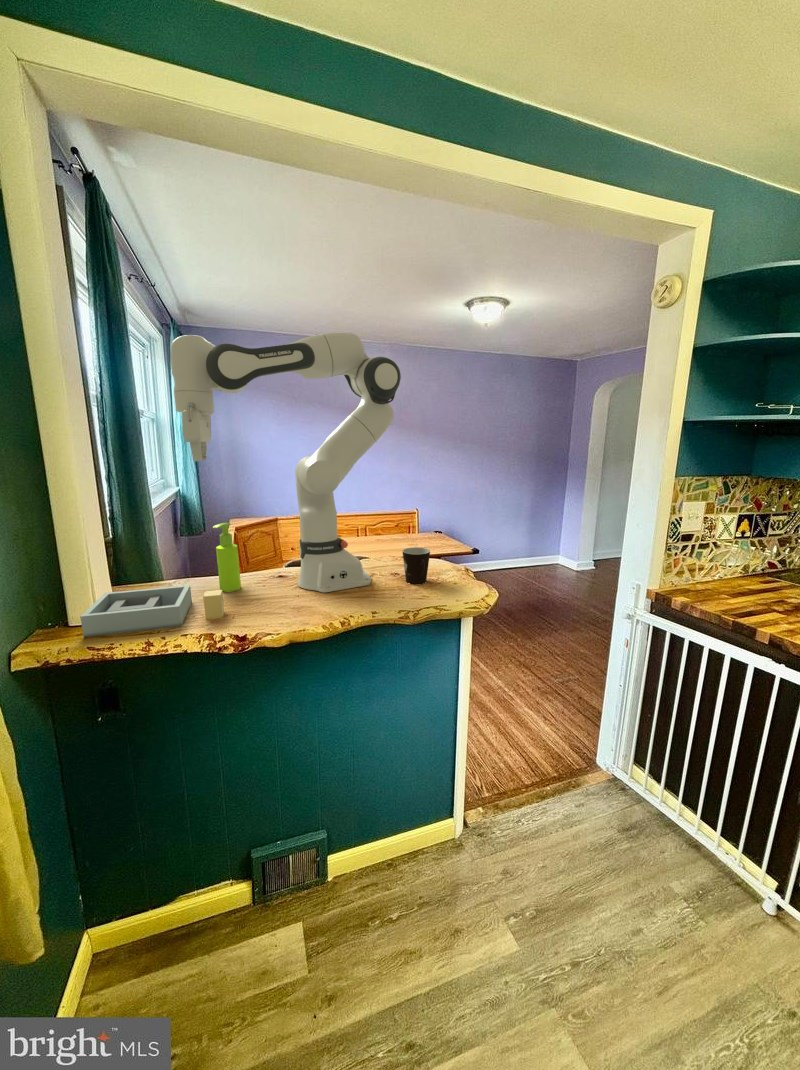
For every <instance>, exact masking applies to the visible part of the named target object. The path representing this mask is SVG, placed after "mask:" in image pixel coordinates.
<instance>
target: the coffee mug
mask: <svg viewBox="0 0 800 1070" xmlns="http://www.w3.org/2000/svg"><path fill="white" fill-rule="evenodd" d="M430 554H431V550H430V549H428V548H426V547H417V546H416V547H407V548H403V549H402V559H403V567H404V577H405V582H407V584H408V583H410V584H409V585H412V584H421V585H424V584H426V583H427V578H428V571H429V562H430ZM425 582H426V583H425ZM423 583H424V584H423Z"/></svg>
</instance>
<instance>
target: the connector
mask: <svg viewBox="0 0 800 1070" xmlns="http://www.w3.org/2000/svg"><path fill="white" fill-rule="evenodd" d="M203 608H204V616H205V620H209V619H210V620H212V618H213V619H219V618H223V617H224V614H225V604H224V594H223V591H222V590H220V589H215V590H214V589H213V590H205V591H204V594H203Z"/></svg>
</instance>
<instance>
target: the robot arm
mask: <svg viewBox="0 0 800 1070" xmlns="http://www.w3.org/2000/svg"><path fill="white" fill-rule="evenodd" d="M363 343H364V342H362V340H361V338H360V337H359V335H356V334H355V333H353V332H351V333H350V332H330V333H322V334H315V335H311V336H306V337H304V338H301V339H299V340H296V341H293V342H291V343H290V342H289V343H287V344H280V345H274V346H273V345H271V346H264V347H257V348H256V347H255V348H254V347H253V348H249V347H244V346H241V345H236V344H232V343H220V344H217V345H215V344H212V342H209V341H208V340H206V338H204V337H203V336H202V335H197V334H186V335H181V336H177V337H175V339H174V340H173V341H172V342H171V345H170V368H171V369H170V370H171V374H172V377H173V381H174V387H173V395H174V403H175V404H174V405H175V411H176V412H177V413H181V419H182V420H181V421H182V423H181V424H182V433H183V439H184V442H186V443H190V444H189V445H190V450H191V454H192V459H193V461H194V462H201V461H204V460H205V461H206V460H207V459H208V454H207V452H208V451H207V450H208V444H207V443H210V442H211V440H212V417H211V415H213V414H214V413H215V404H214V394H213V393H214V390H215V391H219V392H223V393H226V394H237V393H239V392H241V391H243V390H244V389H245V388H246V386H247V385H248V384H249V383H250V382H252V381H253V380H254V379H257V378H260V377H266V376H271V375H278V374H282V373H293V374H294V373H295V374H298V375H300V376H302V378H305V379H309V380H310V379H315V380H316V379H319V380H320V379H328V378H331V377H338V376H344V378H345V380H346V382H347V384H348V386H349V388H350V390H351V392H352V393H353V394H354V395H356V396H357V397H359V398H361V399H360V402H359V404H358V406H357V407H356V408H355V409H354V410H353V411H352V412H351V413H350V414H349V415H348V416H347V417H346V418H345V419H344V420H343V421H342V422H341V423H340V424H339V425H338V426H337V427H336V428H335V429H334V430H332V432H331V433H330V434H329V435H328V436H327V438H326V439H325V440H324V441H323V442H322V444H321V445H320V446H319V448H317V450H316V451H315V452H314V453H313V454H312V455H311V454H310V455H307V456H304V457H302V458H301V459H300V460H299V461H298V462H297V464H296V467H295V471H294V474H295V486H296V487H295V489H296V498H297V505H298V513H299V528H300V529H299V530H300V531H299V532H300V539H299V544H298V545H299V547H298V548H299V557H300V570H299V572H300V573H299V577H298V582H297V586H298V587H300V588H302V589H305V590H309V591H316V592H320V593H329V592H330V593H331V592H336V591H342V590H348V589H352V588H353V589H354V588H358V587H365V586H368V585H370V584H371V583H372V581H371V579H372V578H371V576H370V574H368V572H366V571H364V567H363V564H362V562H361V560H360V559H359V558H357V556H355V555H354V554H353V553H350V552H349V551H348V550H347V549H346V548H348V546H349V543H348V542H347V540H344V539H342V538H341V537H338V517H337V516H338V514H337V513H338V512H337V508H336V504H335V497H334V495H335V494H334V491H335V490H336V489H337V488H338V486H339V485H340V483H342V482H343V480H344V479H345V478H346V477H347V475H348V474H349V472H350V471H351V470H352V468H353V467H354V466H355V464H356V463H357V462H358V461H359V460H360V459H361V457H363V455H365V453H366V452H367V451H369V450H370V449H371V448H372V447H373V445H374V444H375V443H377V441H378V440H379V439H380V438H381V437H382V436H383V434H384V433H385V432H386V431H387V429H388V428H389V427H390V425H391V423H392V422H393V420H394V415H395V413H394V410H393V408H392V406H391V404H390V403H391V402H393V401H394V399H395V396H396V393H397V390H398V388H399V387H400V384H401V380H402V379H401V378H402V376H401V375H402V374H401V371H400V368H399V366H398V364H397V363H396V362H395V361H394V360H393V359H391V358H389V357H385V356H376V357H369V356H368V355H367V353H366V351H365V347H364V344H363Z"/></svg>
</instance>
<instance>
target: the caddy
mask: <svg viewBox="0 0 800 1070" xmlns="http://www.w3.org/2000/svg"><path fill="white" fill-rule="evenodd" d="M191 591H192V590H191V585H190V584H189V585H187V584H186V585H177V586H165V587H164V586H162V587H154V588H144V589H133V590H123V591H122V590H121V591H111V592H105V593H104V594H102V595H101V596H100V597H99V598H98V599H97V600H96V601H95V602H93V604H92V605H91V606H90V607H88V609H87V610H86V611H84V612H83V613H82V614H81V616H80V624H81V630H82V635H83V638H88V637H90V638H91V637H98V636H107V635H115V634H123V633H124V634H125V633H130V632H131V633H132V632H141V631H148V630H157V629H165V628H174V627H182V626H183V623H184V621H185V618H186V617H187V615H188V612H189V610H190V608H191V606H192V604H193V600H192V592H191Z"/></svg>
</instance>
